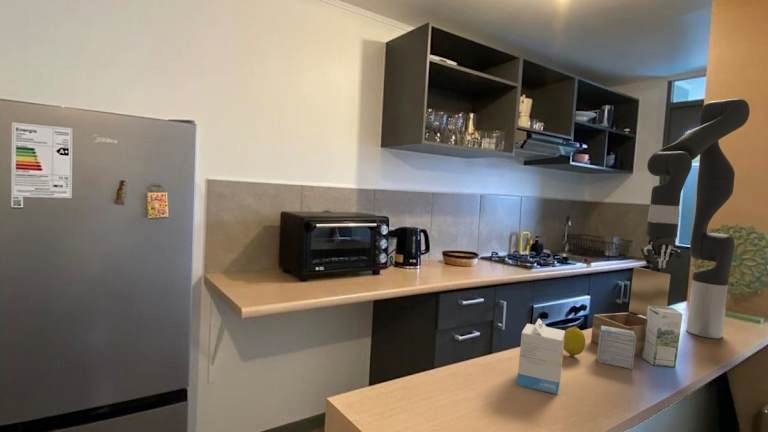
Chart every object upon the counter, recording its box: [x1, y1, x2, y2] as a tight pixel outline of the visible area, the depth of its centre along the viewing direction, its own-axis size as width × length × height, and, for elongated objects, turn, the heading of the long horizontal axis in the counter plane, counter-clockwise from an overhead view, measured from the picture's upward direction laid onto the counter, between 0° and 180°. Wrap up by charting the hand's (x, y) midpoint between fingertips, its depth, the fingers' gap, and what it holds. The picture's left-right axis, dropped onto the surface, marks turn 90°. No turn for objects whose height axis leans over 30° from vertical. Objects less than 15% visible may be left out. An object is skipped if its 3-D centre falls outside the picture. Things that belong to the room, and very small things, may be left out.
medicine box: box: [596, 326, 636, 370], centre depth 107 cm, size 8×4×9 cm, turn 65°
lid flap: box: [628, 266, 671, 318], centre depth 121 cm, size 14×11×1 cm
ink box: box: [517, 318, 566, 395], centre depth 92 cm, size 9×8×13 cm
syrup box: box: [641, 305, 683, 368], centre depth 109 cm, size 6×6×14 cm
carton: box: [590, 312, 646, 357], centre depth 119 cm, size 14×11×8 cm
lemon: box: [563, 326, 586, 357], centre depth 109 cm, size 6×6×8 cm
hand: (656, 280), depth 122 cm, fingers closed
